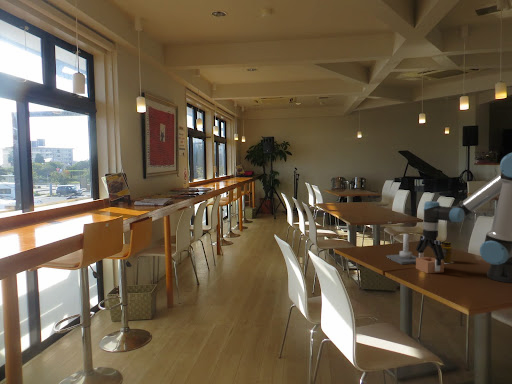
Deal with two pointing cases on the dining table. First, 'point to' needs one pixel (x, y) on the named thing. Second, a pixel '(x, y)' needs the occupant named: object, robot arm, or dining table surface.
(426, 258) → the collar
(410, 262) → the post stand
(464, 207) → the robot arm
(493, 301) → the dining table surface
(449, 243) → the condiment
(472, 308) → the dining table surface
